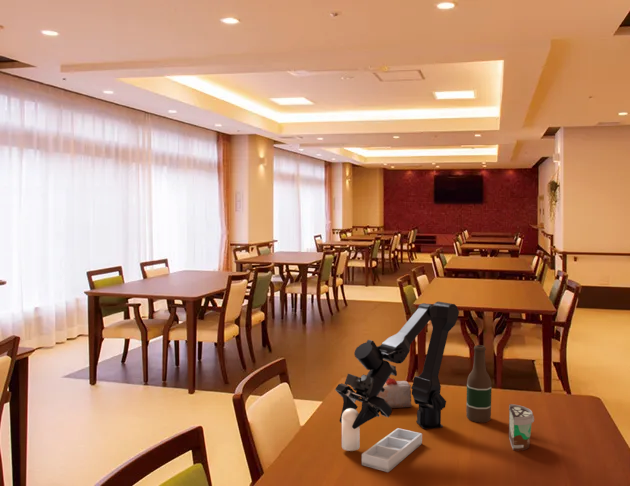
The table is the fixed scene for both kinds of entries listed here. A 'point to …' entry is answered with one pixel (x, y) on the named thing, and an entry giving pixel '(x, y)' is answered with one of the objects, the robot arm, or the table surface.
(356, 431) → the cream tall rounded piece
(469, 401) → the beer bottle
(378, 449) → the white compartment tray
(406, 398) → the food item
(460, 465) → the table surface
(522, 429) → the food container
